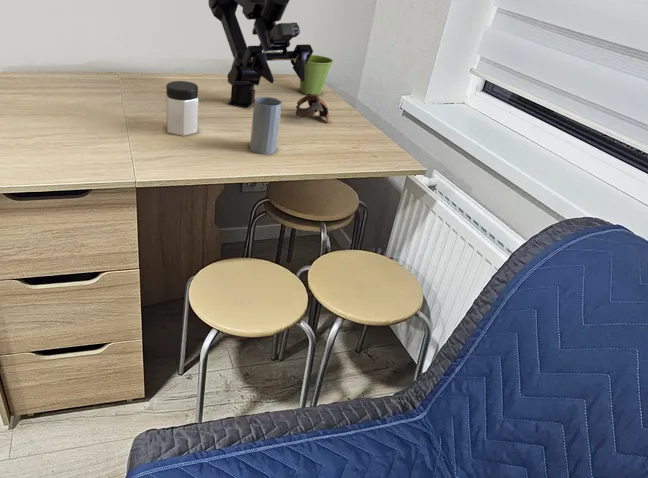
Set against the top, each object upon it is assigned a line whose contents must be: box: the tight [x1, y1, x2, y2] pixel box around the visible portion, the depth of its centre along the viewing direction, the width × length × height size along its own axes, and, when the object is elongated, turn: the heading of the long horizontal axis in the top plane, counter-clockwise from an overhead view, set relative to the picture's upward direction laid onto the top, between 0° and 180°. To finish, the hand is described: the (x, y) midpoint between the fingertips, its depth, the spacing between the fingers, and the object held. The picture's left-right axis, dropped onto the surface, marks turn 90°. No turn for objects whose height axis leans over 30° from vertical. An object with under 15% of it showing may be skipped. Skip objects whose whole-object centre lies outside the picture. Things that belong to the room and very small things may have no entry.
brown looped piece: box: [295, 94, 330, 123], centre depth 155 cm, size 12×10×8 cm
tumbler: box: [249, 96, 283, 155], centre depth 130 cm, size 7×7×12 cm
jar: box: [165, 80, 199, 137], centre depth 137 cm, size 9×8×12 cm
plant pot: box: [299, 54, 334, 96], centre depth 175 cm, size 12×12×11 cm
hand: (288, 81), depth 134 cm, fingers open, 9 cm apart
